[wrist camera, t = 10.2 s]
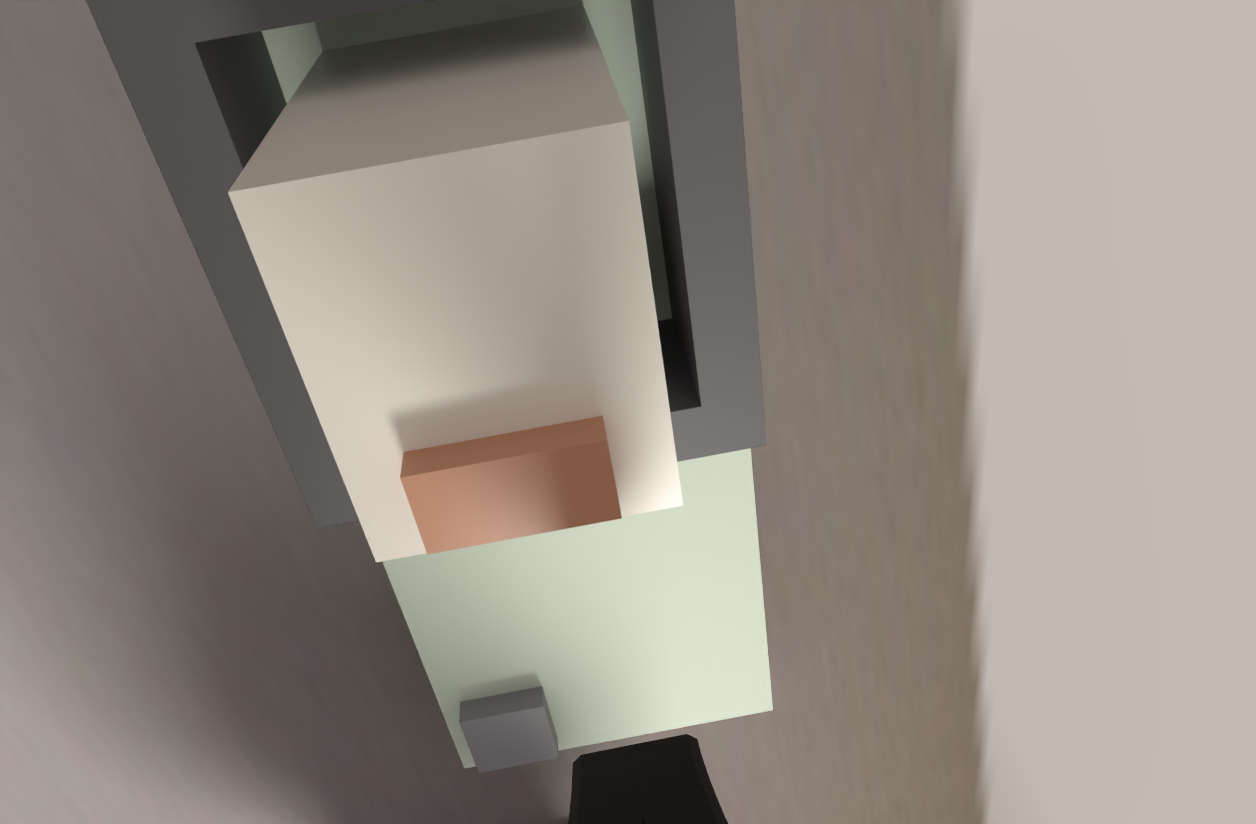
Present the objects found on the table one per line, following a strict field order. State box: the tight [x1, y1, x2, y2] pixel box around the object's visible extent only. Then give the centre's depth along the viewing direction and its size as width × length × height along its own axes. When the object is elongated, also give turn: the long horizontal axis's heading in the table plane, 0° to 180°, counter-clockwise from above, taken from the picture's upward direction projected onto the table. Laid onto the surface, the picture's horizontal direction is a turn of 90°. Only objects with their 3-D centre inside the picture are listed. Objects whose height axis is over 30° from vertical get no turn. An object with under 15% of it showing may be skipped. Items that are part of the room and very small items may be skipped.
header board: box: [86, 0, 773, 773], centre depth 18 cm, size 20×8×4 cm, turn 8°
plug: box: [228, 5, 683, 562], centre depth 13 cm, size 5×4×6 cm
